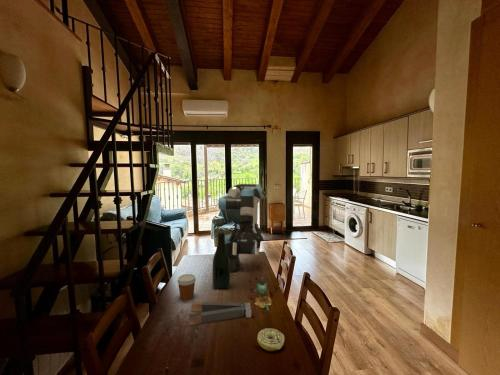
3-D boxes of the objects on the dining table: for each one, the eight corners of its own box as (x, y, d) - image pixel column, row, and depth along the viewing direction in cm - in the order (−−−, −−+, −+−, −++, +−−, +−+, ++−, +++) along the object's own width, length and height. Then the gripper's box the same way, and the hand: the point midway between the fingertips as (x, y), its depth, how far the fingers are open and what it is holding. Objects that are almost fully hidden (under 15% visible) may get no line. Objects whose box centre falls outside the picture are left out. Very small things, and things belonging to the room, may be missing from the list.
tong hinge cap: (244, 309, 118) (244, 302, 118) (249, 309, 118) (249, 302, 118) (246, 318, 111) (246, 310, 111) (251, 318, 112) (251, 310, 111)
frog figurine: (253, 314, 116) (253, 283, 116) (252, 298, 134) (252, 271, 134) (273, 314, 116) (273, 283, 116) (269, 298, 134) (269, 271, 134)
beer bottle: (228, 281, 149) (228, 228, 146) (231, 290, 139) (231, 233, 136) (211, 283, 146) (211, 229, 143) (213, 292, 136) (212, 234, 133)
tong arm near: (189, 321, 108) (189, 314, 108) (244, 313, 115) (244, 306, 114) (189, 325, 106) (189, 317, 106) (245, 316, 112) (245, 308, 112)
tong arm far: (193, 308, 118) (193, 301, 118) (244, 310, 117) (244, 303, 117) (191, 311, 116) (191, 304, 116) (244, 313, 115) (244, 305, 114)
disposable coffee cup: (174, 299, 128) (173, 277, 127) (189, 293, 135) (189, 272, 134) (184, 306, 122) (183, 283, 121) (199, 299, 129) (199, 277, 128)
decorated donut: (284, 355, 91) (284, 345, 91) (256, 352, 92) (256, 343, 92) (284, 335, 102) (284, 327, 101) (258, 333, 103) (258, 325, 102)
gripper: (224, 216, 139) (221, 254, 133) (264, 212, 128) (263, 254, 121) (231, 218, 146) (229, 255, 139) (269, 215, 135) (269, 255, 128)
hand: (245, 254), depth 130 cm, fingers open, 13 cm apart
